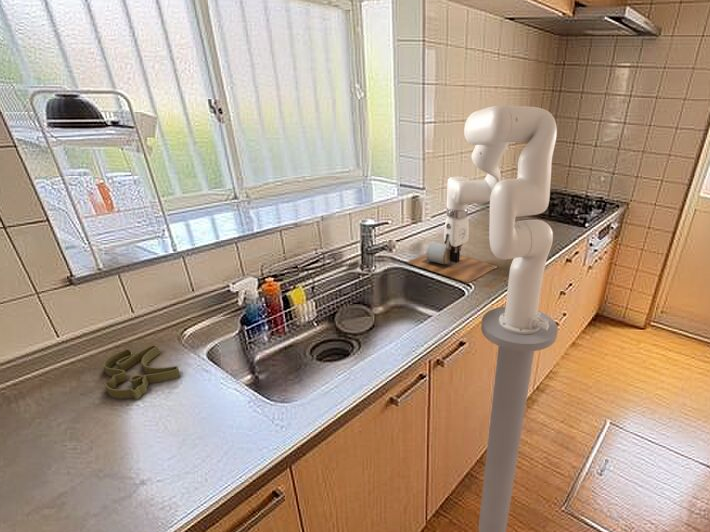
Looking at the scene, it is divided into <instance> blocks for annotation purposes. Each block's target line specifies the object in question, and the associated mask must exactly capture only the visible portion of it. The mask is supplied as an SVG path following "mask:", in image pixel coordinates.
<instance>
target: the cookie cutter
mask: <svg viewBox="0 0 710 532" xmlns="http://www.w3.org/2000/svg"><path fill="white" fill-rule="evenodd" d="M158 355H161V352H160V350H159V346H158V345H156V344H152V345H149V346H147V347H145V348H142V349H141V350H139V351H137V352H136V353H134V352H133V350H132V349H130V348H126V349H123V350H120V351H118V352H116V353H114V354H112V355H110V356H109V357H106V359H105V360H104V361H103V363H102V366H103V368H104V372H105V373H106V375H107V376H110V377H111V379H110V380H107V381H104V382H103V384H104V387H105V389H106V391H107V393H108V394H109V396H111V397H112V398H114V399H131V398H133V399H135V400H139V399H140V398H141V397H142V395H144V394H146V393H147V392H148V386H149V384H152V383H159V382H165V381H170V380H174V379H177V378H181V373H180V369H179V366H178V365H174V366H166V367H153V366H147V365H148V364H149V362H151V360H152V359H154V358H156V357H157V356H158ZM140 362H141V365H142V368H143V371H144V373H146V374H136V375H132V376H131V377H130V378H129V381H130V384H131V386H132V387H131V388H125V389H116V387H118V384H120V383H124V382H126V381H128V376H127V374H126V373H127V372H126V371H128V370H129V369H130V368H132V367H133V366H135V365H136V364H137V363H140ZM115 364H116V366H117V368H112V367H113V366H114V365H115Z"/></svg>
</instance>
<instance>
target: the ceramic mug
mask: <svg viewBox="0 0 710 532" xmlns="http://www.w3.org/2000/svg"><path fill="white" fill-rule="evenodd" d="M425 255H426V258H427V260H428V261H432V262H435V263H440V264H448V263H449V262H450V251H449V250H448V249H446V244H444V243H442V242H439V241H435V240H432V241H430V242H429V243H428V245H427V247H426V251H425Z"/></svg>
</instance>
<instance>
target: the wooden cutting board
mask: <svg viewBox="0 0 710 532" xmlns="http://www.w3.org/2000/svg"><path fill="white" fill-rule="evenodd" d="M406 264H409V265H412V266H415V267H418V268H421V269H424V270H428V271H430V272H434V273H437V274H439V275H443V276H446V277H449V278H452V279H455V280H458V281H461V282H464V283H467V284H470V283H472V282H473V281H475V280H477V279H479V278H480V277H482V276H484V275H486V274H487V273H489V272H491V271H493V270H494V269H496V268H498V265H495V264H493V263H488V262H485V261H481V260H477V259H474V258H470V257H467V256H465V255H461V254H460V260H459V262H457V263H455V262H452V261H450V262H449V263H448V264H440V263H435V262H432V261H428V260H427V258H426V254H423V255H421V256H418V257H416V258H413V259H411V260H409V261H406Z"/></svg>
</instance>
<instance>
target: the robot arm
mask: <svg viewBox="0 0 710 532" xmlns="http://www.w3.org/2000/svg"><path fill="white" fill-rule="evenodd" d="M463 127H464V128H463V134H464V139H465V140H466V142H467V143H468V144H469V145H472V146H474V148H473V151H472V152H471V161H472V163H473V165H474V166H475V167H476V168H477V169H478V170H480V171H482V172H484V173H486V176H485V177H484V179H474V180H469V178H467V177H465V176H460V175H458V176H450V177H449V178H448V179H447V187H446V214H445V216H446V218H445V222H444V229H443V242H444V243H443V244H445V245H446V249H448V250H449V251H450V261H452V262H455V263H457V262H459V260H460V255H461V251H462V246H463V245H464V244H466V243H468V241H469V238H470V223H469V222H470V221H469V216H468V213H469V212H468V211H469V205H474V204H475V205H476V204H486V203H489V230H488V231H489V232H488V233H489V234H488V235H489V247H490V251H491V253H492V255H493V256H494V257H495V258H496V259H499V260H511V259H512V261H511V263H510V267H509V272H508V281H507V289H506V290H507V291H506V298H505V306H506V307H505V306H504V307H505V313H503V314H502V315H500V317H499V324H500V326H501V327H502V328H503V329H505V330H507V331H509V332H512V333H516V334H531V333H535V332H537V331H538V330H539V329H540V328H541V329H544V330H548V328H549V324H548V320H546V319H542V318H541V317H540V314H541V312H542V311H540V312H538V311H539V306H540V299H541V292H542V286H543V280H544V274H545V270H546V264H547V260H548V257H549V254H550V251H551V249H552V245H553V242H554V233H553V229H552V227H551V226H550V224H548V223H547V222H546V221H544V220H541V219H526V220H525V219H524V220H518V221H516V218H518V217H529V216H537V215H540V214H543V213H545V212H546V211H547V210H548V207H549V204H550V197H551V184H552V183H551V182H552V164H553V156H554V151H555V146H556V142H557V136H558V135H557V134H558V127H557V123H556V119H555V117H554V116H553V114H552V113H551V112H550V111H549V110H547V109H544V108H542V107H537V106H528V105H492V106H489V107H484V108H482V109H478V110H476V111H474V112H472V113H471V114H470V115H469V116H468V117H467V119H466V121H465V123H464V126H463ZM511 143H526V145H525V146H524V147H523V149H522V151H521V153H520V155H519V157H518V160H517V174H516V175H517V176H516V178H504V179H501V177H502V175H501V169H500V167H499V163H500V162H501V160H502V158H503V156H504V154H505V153H506V150H507V149H508V147H509V144H511Z"/></svg>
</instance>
